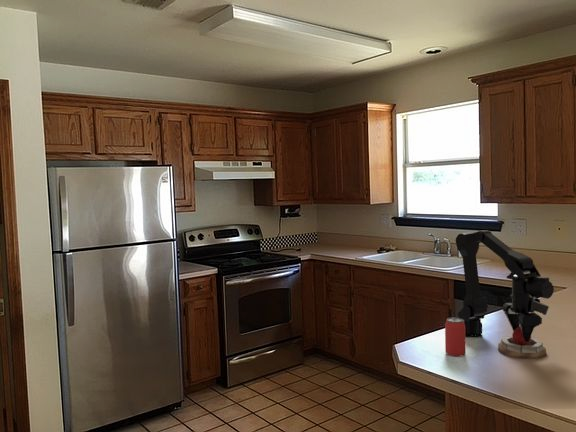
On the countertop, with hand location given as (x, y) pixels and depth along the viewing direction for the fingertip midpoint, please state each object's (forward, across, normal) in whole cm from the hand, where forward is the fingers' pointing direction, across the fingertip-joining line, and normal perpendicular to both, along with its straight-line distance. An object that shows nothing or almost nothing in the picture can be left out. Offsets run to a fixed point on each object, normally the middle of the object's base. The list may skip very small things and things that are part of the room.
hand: (521, 337), depth 169 cm
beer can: (+5, -2, +23) cm, 24 cm away
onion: (+3, 0, 0) cm, 3 cm away
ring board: (+5, 0, 0) cm, 5 cm away
